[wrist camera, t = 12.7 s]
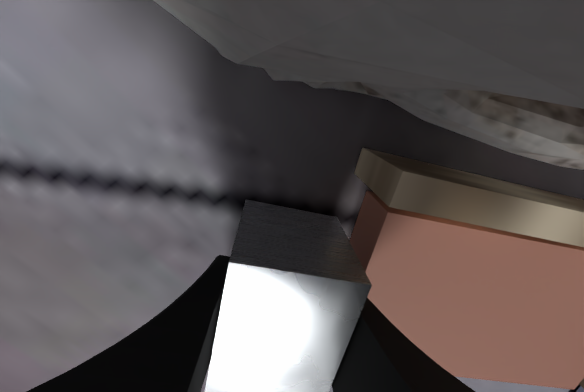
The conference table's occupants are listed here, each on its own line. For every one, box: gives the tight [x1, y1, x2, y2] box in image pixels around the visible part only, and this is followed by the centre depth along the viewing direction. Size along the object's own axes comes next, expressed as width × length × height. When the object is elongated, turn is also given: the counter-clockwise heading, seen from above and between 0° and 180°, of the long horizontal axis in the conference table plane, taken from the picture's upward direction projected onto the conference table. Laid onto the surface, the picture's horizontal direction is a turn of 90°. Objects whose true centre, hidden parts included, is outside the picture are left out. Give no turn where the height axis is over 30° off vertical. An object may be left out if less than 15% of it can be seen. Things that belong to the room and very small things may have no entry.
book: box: [349, 191, 584, 390], centre depth 14 cm, size 14×8×3 cm, turn 77°
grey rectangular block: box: [205, 200, 372, 392], centre depth 10 cm, size 4×6×4 cm, turn 167°
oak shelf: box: [354, 147, 584, 388], centre depth 13 cm, size 18×10×4 cm, turn 77°
